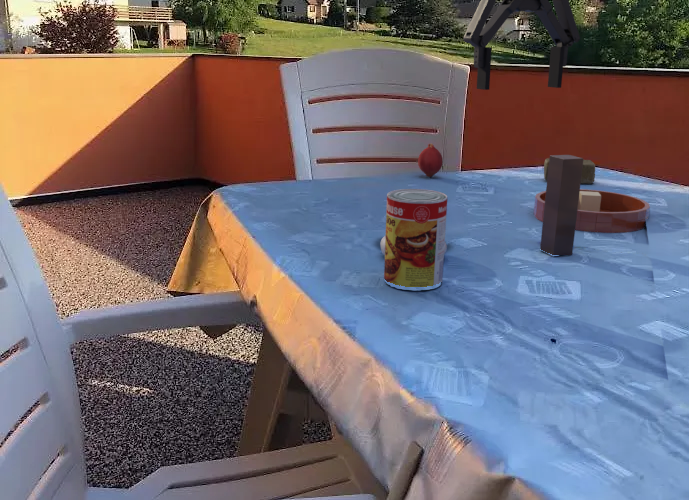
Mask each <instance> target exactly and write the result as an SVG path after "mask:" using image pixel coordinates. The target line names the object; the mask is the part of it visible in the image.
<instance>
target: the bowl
mask: <svg viewBox="0 0 689 500" xmlns="http://www.w3.org/2000/svg"><path fill="white" fill-rule="evenodd" d="M580 191H588V192H599V194H600V195H601V203H600V211H599V212H595V211H584V210H577V218H576V227H575V231H578V232H579V231H580V232H588V233H600V234H601V233H602V234H623V233H632V232H638V231H641V230H644V229H645V228H646V227H647V220H649V215H650V210H651V205H650V203H649V202H647V201H646V200H645V199H641V198H639V197H637V196H633V195H629V194H624V193H619V192H613V191H607V190H600V189H599V190H598V189H588V188H580ZM545 197H546V190H543V191H540V192H538V193H536V195H535V196H534V204H533V216H534V218H535V219H537V220H538V221H540V222H542V223H543V216H544V206H545Z"/></svg>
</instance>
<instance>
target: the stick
mask: <svg viewBox="0 0 689 500" xmlns="http://www.w3.org/2000/svg"><path fill="white" fill-rule="evenodd" d="M548 158H549V168H548V177H547V181H546V189H545V191H546V197H545V206H544V216H543V222H542V226H541V236H540V245H539V250H540V249H541V250H543V251H545V252H547V253H550V254H552V255H568V256H573V251H574V244H575V243H574V242H575V234H576V233H575V232H576V230H575V227H576V218H577V210H578V201H579V193H580V189H581V185H582V184H581V176H582V167H583V160H584V157H578V156H576V155H573V154H572V155H571V154H554V155H553V154H552V155H549V157H548Z"/></svg>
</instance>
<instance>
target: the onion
mask: <svg viewBox="0 0 689 500" xmlns="http://www.w3.org/2000/svg"><path fill="white" fill-rule="evenodd" d="M443 159H444V158H443V155H442V154H441V152H440V151H439V150H438V149H437V148H436V147H435V145H434V143H431V142H430V143H428V144H427V147H426V148H424V149H423V150H421V152H420V153H419V156H418V160H417V166H418V168H419V170H420V171H421V172H422V173H423V174H424V175H425V176H426V177H428V178H432V177H433V176H435V175H436V174H438V173H439V172H440V170H442V167H443V163H444V161H443Z"/></svg>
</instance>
